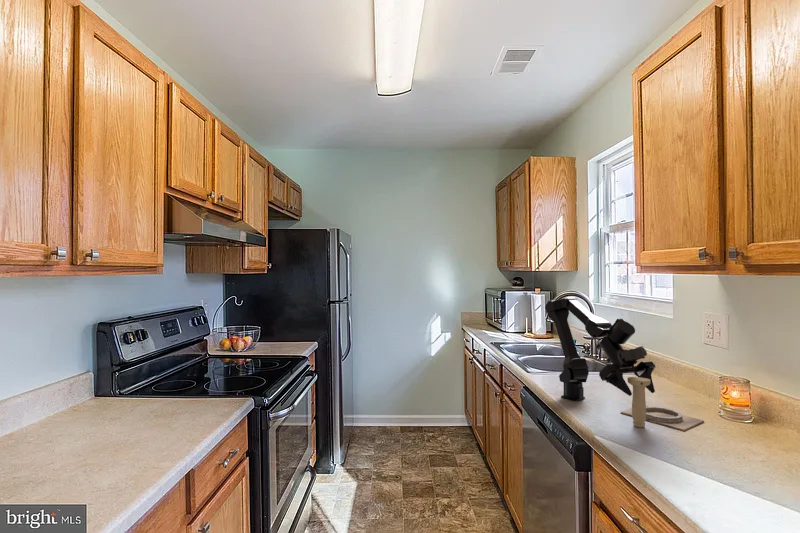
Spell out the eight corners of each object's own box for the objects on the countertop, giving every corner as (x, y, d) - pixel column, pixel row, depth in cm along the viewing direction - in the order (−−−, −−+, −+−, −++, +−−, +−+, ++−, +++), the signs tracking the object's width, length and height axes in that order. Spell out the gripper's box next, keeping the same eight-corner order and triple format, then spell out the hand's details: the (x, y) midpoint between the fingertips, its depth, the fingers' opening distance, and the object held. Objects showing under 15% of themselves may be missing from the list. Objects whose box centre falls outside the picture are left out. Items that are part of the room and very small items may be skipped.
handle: (653, 429, 136) (652, 381, 136) (631, 428, 137) (630, 380, 137) (646, 424, 141) (646, 377, 141) (625, 423, 142) (625, 376, 142)
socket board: (620, 413, 151) (620, 408, 151) (641, 405, 159) (641, 401, 159) (683, 431, 135) (683, 425, 135) (704, 422, 143) (704, 416, 143)
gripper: (605, 339, 140) (633, 382, 130) (650, 336, 146) (681, 377, 135) (588, 359, 148) (613, 401, 137) (631, 355, 153) (659, 396, 143)
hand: (642, 393), depth 138 cm, fingers open, 9 cm apart
